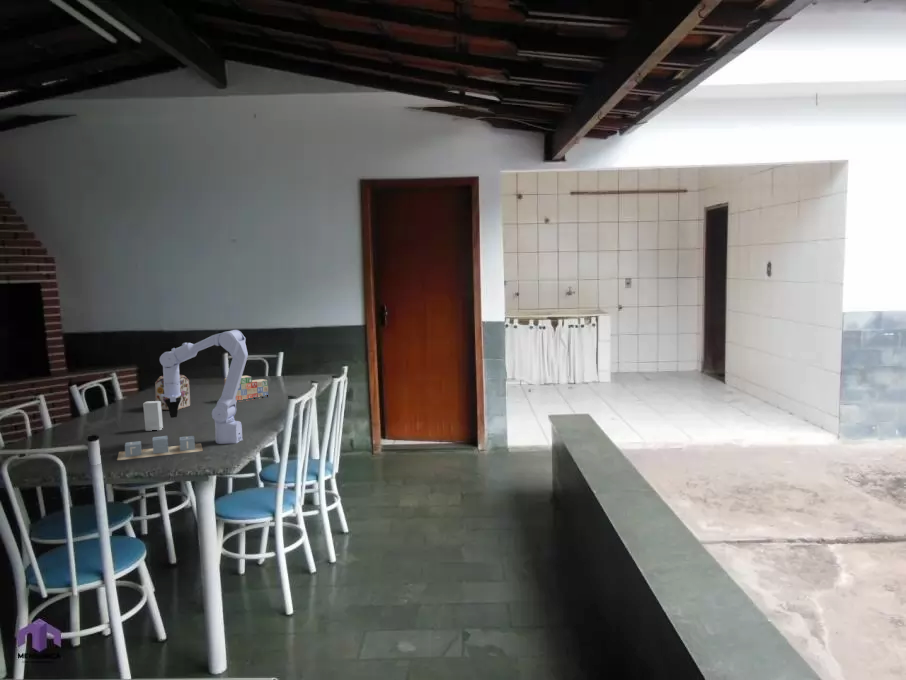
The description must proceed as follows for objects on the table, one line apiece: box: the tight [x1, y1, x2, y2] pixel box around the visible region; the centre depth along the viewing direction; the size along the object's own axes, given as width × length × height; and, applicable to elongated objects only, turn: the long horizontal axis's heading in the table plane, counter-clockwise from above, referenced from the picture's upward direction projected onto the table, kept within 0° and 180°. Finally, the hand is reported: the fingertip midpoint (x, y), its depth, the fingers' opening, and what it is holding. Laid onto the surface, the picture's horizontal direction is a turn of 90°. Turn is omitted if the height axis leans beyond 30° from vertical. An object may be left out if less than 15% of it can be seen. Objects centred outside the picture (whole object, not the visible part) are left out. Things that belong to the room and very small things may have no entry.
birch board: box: [116, 443, 203, 461], centre depth 239 cm, size 28×12×1 cm, turn 114°
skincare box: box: [142, 400, 164, 432], centre depth 276 cm, size 6×4×12 cm
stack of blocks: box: [223, 375, 269, 401], centre depth 344 cm, size 21×6×12 cm, turn 133°
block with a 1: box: [179, 435, 196, 451], centre depth 242 cm, size 5×5×4 cm
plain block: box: [152, 435, 169, 454], centre depth 239 cm, size 5×5×5 cm
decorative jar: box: [154, 374, 191, 411], centre depth 323 cm, size 12×12×18 cm
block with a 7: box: [124, 440, 142, 457], centre depth 235 cm, size 5×5×4 cm
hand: (173, 417), depth 253 cm, fingers closed
